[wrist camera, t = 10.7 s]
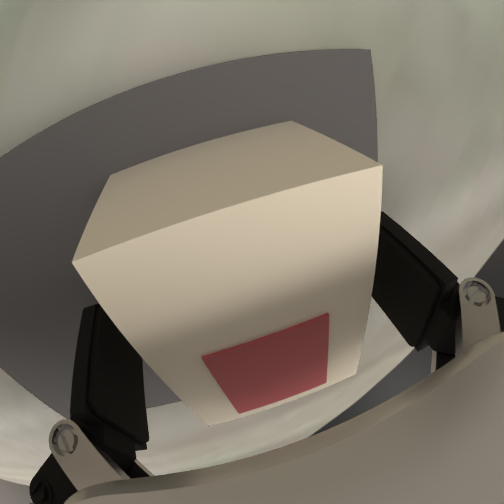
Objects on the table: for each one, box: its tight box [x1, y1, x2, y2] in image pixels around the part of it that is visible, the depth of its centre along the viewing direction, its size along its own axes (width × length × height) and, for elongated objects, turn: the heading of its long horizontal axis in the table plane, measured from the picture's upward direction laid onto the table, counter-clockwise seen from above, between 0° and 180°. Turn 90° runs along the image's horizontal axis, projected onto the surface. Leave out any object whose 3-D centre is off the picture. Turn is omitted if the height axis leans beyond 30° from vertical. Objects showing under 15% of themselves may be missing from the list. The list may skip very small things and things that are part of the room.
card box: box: [72, 121, 383, 426], centre depth 10 cm, size 9×6×5 cm
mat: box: [0, 49, 378, 419], centre depth 13 cm, size 24×18×1 cm
